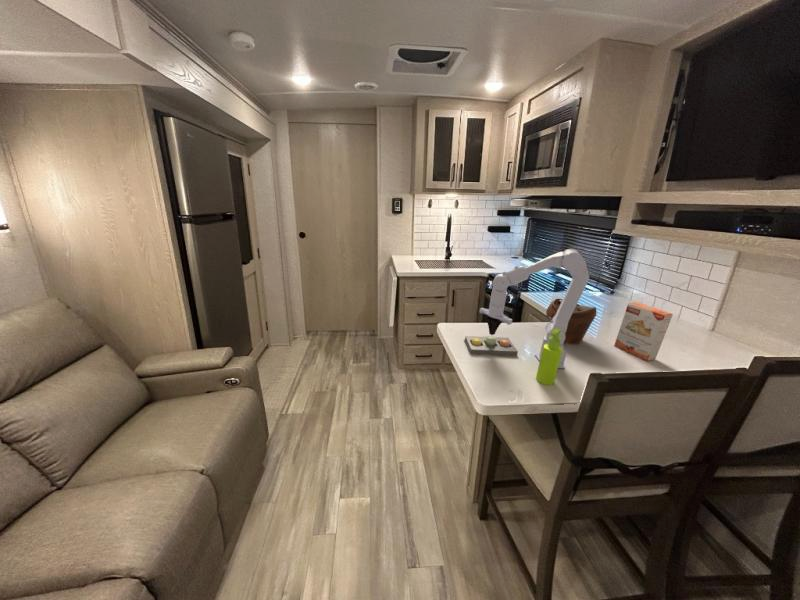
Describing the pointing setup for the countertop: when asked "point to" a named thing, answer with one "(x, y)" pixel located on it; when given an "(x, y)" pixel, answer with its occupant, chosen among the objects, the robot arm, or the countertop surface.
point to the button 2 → (504, 343)
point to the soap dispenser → (550, 359)
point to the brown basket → (574, 320)
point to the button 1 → (476, 341)
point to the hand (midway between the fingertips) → (492, 334)
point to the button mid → (490, 341)
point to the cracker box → (642, 330)
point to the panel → (490, 347)
